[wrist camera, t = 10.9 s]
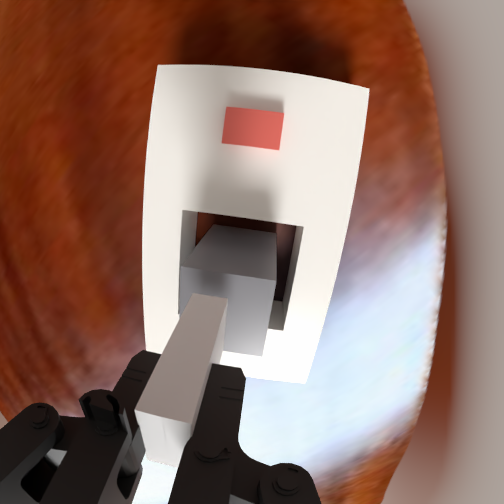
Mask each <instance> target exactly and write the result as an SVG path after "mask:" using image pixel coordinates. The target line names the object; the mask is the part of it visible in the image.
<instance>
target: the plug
mask: <svg viewBox="0 0 504 504" xmlns="http://www.w3.org/2000/svg"><path fill="white" fill-rule="evenodd" d="M276 275H277V233H271V232H264V231H258V230H251V229H244V228H237V227H230V226H222V225H215V224H213V225H212V227H211V228H210V229H209V230H208V232H207V233H206V234H205V236H204V237H203V238H202V239H201V241H200V242H199V243H198V244H197V246H196V247H195V248H194V250H193V251H192V252H191V253H190V255H189V256H188V257H187V259H186V260H185V261H184V263H183V264H182V265H181V273H180V306H179V319H180V317H181V315H182V313H183V311H184V309H185V307H186V305H187V303H188V301H189V300H190V298H191V296H192V294H193V293H196V294H202V295H208V296H215V297H221V298H228V303H227V314H226V324H225V335H224V346H223V351H227V352H233V353H239V354H246V355H253V356H260V357H262V356H263V351H264V346H265V340H266V335H267V330H268V325H269V319H270V314H271V308H272V303H273V297H274V292H275V286H276Z"/></svg>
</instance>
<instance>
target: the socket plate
mask: <svg viewBox="0 0 504 504" xmlns="http://www.w3.org/2000/svg"><path fill="white" fill-rule="evenodd" d="M368 97H369V89H368V88H364V87H360V86H356V85H352V84H348V83H343V82H339V81H334V80H329V79H324V78H319V77H314V76H308V75H302V74H296V73H290V72H282V71H275V70H267V69H257V68H247V67H234V66H217V65H158V68H157V74H156V80H155V87H154V94H153V101H152V108H151V116H150V125H149V134H148V144H147V155H146V168H145V183H144V202H143V235H142V273H143V306H144V325H145V340H146V351H150V352H154V353H159V354H162V352H163V350H164V348H165V346H166V344H167V342H168V340H169V338H170V337H171V335H172V333H173V331H174V329H175V327H176V325H177V323H178V321H179V306H180V273H181V265H182V264H183V263H184V261H185V260H186V259H187V257H188V256H189V255H190V253H191V252H192V251H193V250H194V248H195V240H196V227H197V215H198V212H205V213H212V214H220V215H227V216H235V217H242V218H249V219H256V220H263V221H270V222H277V223H283V224H290V225H297V226H296V232H295V238H294V243H293V249H292V254H291V260H290V265H289V271H288V276H287V281H286V286H285V292H284V297H283V302H281V301H274V300H273V303H272V308H271V314H270V319H269V325H268V330H267V335H266V340H265V346H264V351H263V356H262V357H260V356H253V355H246V354H239V353H233V352H227V351H223V352H222V356H221V360H220V364H221V365H227V366H233V367H240V368H242V371H243V373H244V375H245V376H247V377H254V378H261V379H269V380H278V381H287V382H297V383H306V380H307V377H308V374H309V371H310V367H311V364H312V361H313V358H314V355H315V351H316V348H317V345H318V341H319V338H320V335H321V331H322V328H323V324H324V321H325V317H326V313H327V310H328V306H329V302H330V299H331V295H332V291H333V287H334V283H335V279H336V275H337V271H338V267H339V263H340V258H341V254H342V250H343V245H344V241H345V236H346V232H347V227H348V222H349V217H350V212H351V207H352V202H353V197H354V191H355V186H356V180H357V175H358V169H359V163H360V156H361V150H362V143H363V137H364V129H365V122H366V114H367V106H368Z"/></svg>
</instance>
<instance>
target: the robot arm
mask: <svg viewBox="0 0 504 504" xmlns="http://www.w3.org/2000/svg"><path fill="white" fill-rule="evenodd" d="M227 303H228V298H221V297H215V296H208V295H202V294H196V293H193V294H192V296H191V298H190V300H189V301H188V303H187V305H186V307H185V309H184V311H183V313H182V315H181V317H180V319H179V321H178V323H177V325H176V327H175V329H174V331H173V333H172V335H171V337H170V338H169V340H168V342H167V344H166V346H165V348H164V350H163V352H162V354H159V353H154V352H150V351H146V350H142V351H141V352H139V353H138V354H137V355H135V356H134V357H132V359H131V361H130V362H129V364H128V366H127V369H125V371H124V372H123V374H122V377H120V379H119V381H118V383H117V384H116V386H115V388H114V389H113V391H112V392H111V391H109V390H103V389H98V390H92V391H89V392H87V393H85V394H84V395H83V396H82V397H81V398H80V399H79V402H80V405H81V407H82V410H83V412H84V415H85V417H69V416H60V415H59V414H58V412H57V411H56V410H55V408H54V407H53V406H51V405H49V404H47V403H35V404H31V405H30V406H28V407H26V408H25V409H24V410H23V411H21V412H20V413H19V414H18V415H17V416H15V417H14V418H13V419H12V420H11V421H10V422H8V423H7V424H6V425H5V426H4V427H3V428H1V429H0V504H132V501H133V498H134V495H135V493H136V490H137V487H138V484H139V481H140V479H141V476H142V469H143V468H142V465H141V462H142V460H143V457H144V454H146V457H147V460H150V461H154V462H157V463H161V464H165V465H169V466H173V467H178V470H177V473H176V477H175V481H174V484H173V488H172V491H171V495H170V498H169V502H168V504H321V501H320V498H319V496H318V493H317V490H316V487H315V484H314V482H313V479H312V477H311V476H310V474H309V473H308V471H306V470H305V469H303V468H302V467H301V466H298V465H295V464H292V463H280V464H276V465H273V466H269V465H266V464H263V463H261V462H258V461H256V460H254V459H252V458H250V457H249V456H247V455H246V454H245V453H244V452H243V450H242V449H241V448H240V445H239V442H238V433H239V426H240V419H241V411H242V404H243V396H244V389H245V381H246V378H245V375H244V373H243V371H242V368H240V367H233V366H227V365H221V364H220V360H221V356H222V352H223V346H224V335H225V324H226V314H227Z"/></svg>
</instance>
